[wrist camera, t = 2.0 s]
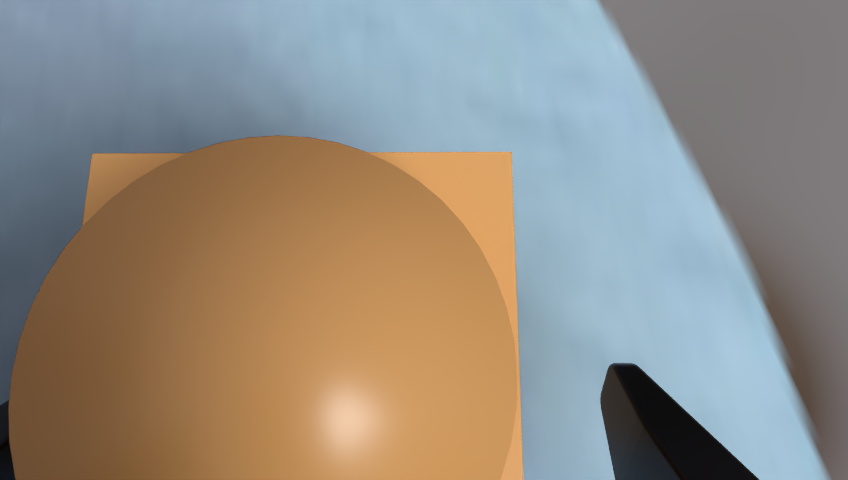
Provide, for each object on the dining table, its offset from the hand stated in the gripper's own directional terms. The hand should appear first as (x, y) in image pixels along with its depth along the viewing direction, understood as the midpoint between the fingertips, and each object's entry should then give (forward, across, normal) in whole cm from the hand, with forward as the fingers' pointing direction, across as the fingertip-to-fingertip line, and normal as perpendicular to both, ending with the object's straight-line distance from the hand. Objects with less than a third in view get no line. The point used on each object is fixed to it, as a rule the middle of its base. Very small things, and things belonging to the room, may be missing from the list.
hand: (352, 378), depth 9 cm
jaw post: (+6, 0, +6) cm, 8 cm away
